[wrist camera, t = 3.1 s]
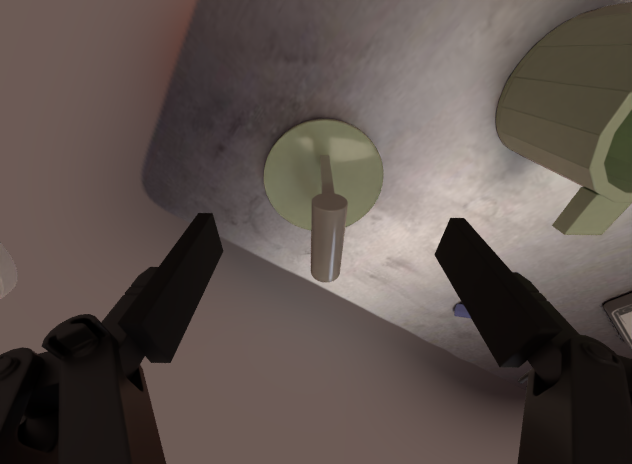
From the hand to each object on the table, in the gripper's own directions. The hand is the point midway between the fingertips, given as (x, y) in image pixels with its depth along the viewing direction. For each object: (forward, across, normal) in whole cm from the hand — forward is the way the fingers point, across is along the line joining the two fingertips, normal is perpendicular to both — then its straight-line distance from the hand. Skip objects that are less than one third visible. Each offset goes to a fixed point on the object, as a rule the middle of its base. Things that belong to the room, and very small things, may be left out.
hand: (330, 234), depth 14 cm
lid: (+7, 0, 0) cm, 7 cm away
